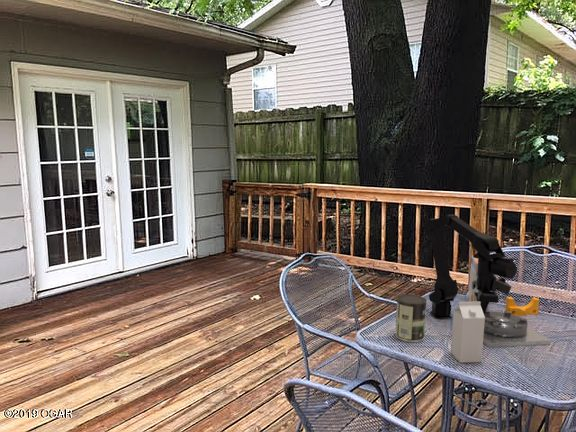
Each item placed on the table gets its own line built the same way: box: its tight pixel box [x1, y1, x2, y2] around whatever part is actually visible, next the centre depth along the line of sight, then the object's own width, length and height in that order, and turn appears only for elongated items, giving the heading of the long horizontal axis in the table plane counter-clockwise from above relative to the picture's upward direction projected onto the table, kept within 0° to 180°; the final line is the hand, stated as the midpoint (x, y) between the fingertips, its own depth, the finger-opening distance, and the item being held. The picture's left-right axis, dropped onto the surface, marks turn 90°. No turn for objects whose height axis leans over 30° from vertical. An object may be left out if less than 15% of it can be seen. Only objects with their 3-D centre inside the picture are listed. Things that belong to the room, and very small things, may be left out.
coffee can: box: [394, 293, 428, 343], centre depth 169 cm, size 10×10×14 cm
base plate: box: [483, 325, 551, 348], centre depth 175 cm, size 23×23×4 cm
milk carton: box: [450, 301, 485, 363], centre depth 153 cm, size 7×7×19 cm
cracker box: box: [467, 254, 488, 310], centre depth 199 cm, size 14×6×21 cm, turn 167°
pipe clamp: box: [504, 296, 540, 317], centre depth 193 cm, size 12×4×6 cm, turn 87°
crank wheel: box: [484, 309, 529, 337], centre depth 174 cm, size 17×17×9 cm
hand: (482, 314), depth 172 cm, fingers closed
